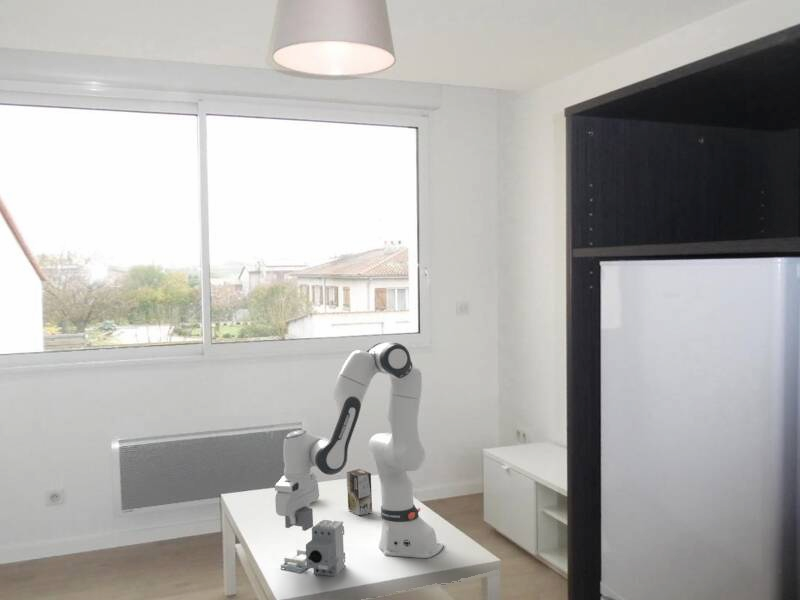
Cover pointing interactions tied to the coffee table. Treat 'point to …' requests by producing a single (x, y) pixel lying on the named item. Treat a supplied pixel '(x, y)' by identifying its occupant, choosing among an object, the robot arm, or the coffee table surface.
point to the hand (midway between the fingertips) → (299, 520)
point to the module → (301, 519)
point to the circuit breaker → (326, 548)
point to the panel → (296, 561)
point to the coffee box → (359, 491)
